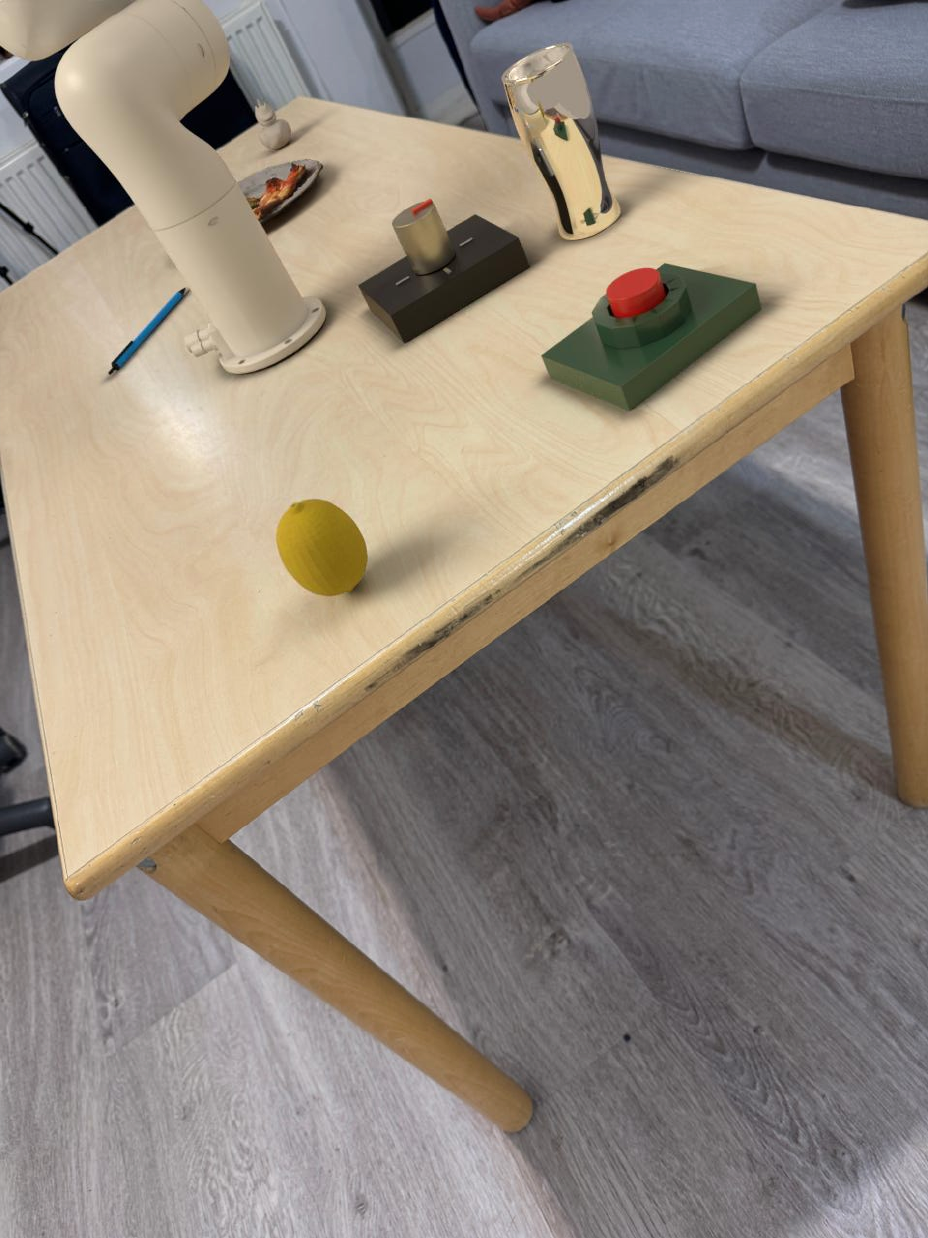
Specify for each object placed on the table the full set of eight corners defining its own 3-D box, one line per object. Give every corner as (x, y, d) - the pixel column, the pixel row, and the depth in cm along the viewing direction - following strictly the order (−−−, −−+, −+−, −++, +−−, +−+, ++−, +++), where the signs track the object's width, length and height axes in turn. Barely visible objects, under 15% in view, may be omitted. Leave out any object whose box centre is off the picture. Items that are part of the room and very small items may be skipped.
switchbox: (630, 412, 70) (613, 365, 67) (550, 378, 77) (532, 335, 75) (762, 309, 72) (750, 260, 69) (671, 286, 79) (658, 241, 77)
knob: (422, 279, 93) (398, 227, 89) (408, 267, 96) (384, 217, 93) (462, 255, 93) (439, 203, 90) (446, 244, 96) (423, 193, 93)
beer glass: (622, 228, 90) (570, 60, 81) (551, 251, 93) (492, 91, 83) (628, 195, 95) (579, 32, 85) (560, 217, 98) (505, 62, 88)
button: (636, 324, 70) (629, 303, 69) (602, 314, 73) (595, 293, 72) (677, 293, 71) (671, 271, 70) (641, 284, 74) (635, 263, 73)
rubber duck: (271, 156, 161) (245, 108, 156) (263, 151, 166) (237, 103, 161) (299, 139, 161) (274, 90, 156) (290, 134, 166) (265, 86, 161)
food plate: (355, 161, 139) (344, 137, 137) (259, 253, 128) (245, 228, 126) (243, 187, 155) (231, 165, 153) (148, 270, 144) (134, 248, 142)
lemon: (316, 579, 71) (258, 496, 66) (385, 551, 70) (332, 465, 65) (314, 630, 67) (252, 546, 62) (387, 601, 66) (330, 514, 61)
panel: (404, 343, 92) (389, 314, 90) (371, 310, 101) (356, 283, 99) (530, 266, 93) (518, 235, 91) (486, 240, 101) (474, 211, 99)
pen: (109, 377, 119) (103, 369, 118) (185, 291, 130) (180, 283, 129) (114, 376, 118) (108, 368, 118) (189, 289, 130) (185, 282, 129)
